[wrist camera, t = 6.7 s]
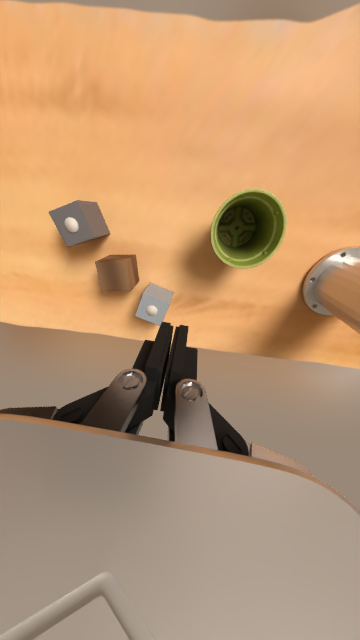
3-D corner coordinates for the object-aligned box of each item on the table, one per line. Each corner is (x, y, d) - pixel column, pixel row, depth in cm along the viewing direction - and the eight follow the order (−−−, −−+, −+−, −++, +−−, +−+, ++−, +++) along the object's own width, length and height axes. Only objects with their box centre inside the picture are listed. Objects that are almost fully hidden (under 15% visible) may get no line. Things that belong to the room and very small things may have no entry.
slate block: (173, 292, 39) (169, 304, 33) (165, 311, 41) (160, 326, 36) (150, 282, 38) (142, 293, 33) (143, 302, 40) (134, 316, 35)
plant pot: (233, 267, 35) (243, 282, 28) (196, 230, 33) (196, 235, 25) (277, 225, 31) (302, 229, 24) (239, 179, 29) (253, 167, 21)
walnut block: (135, 254, 36) (125, 261, 30) (139, 280, 38) (129, 291, 33) (109, 255, 36) (95, 262, 31) (115, 280, 38) (102, 291, 33)
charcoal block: (96, 202, 32) (76, 200, 27) (110, 233, 34) (93, 237, 29) (72, 212, 33) (47, 211, 28) (86, 242, 35) (66, 247, 30)
